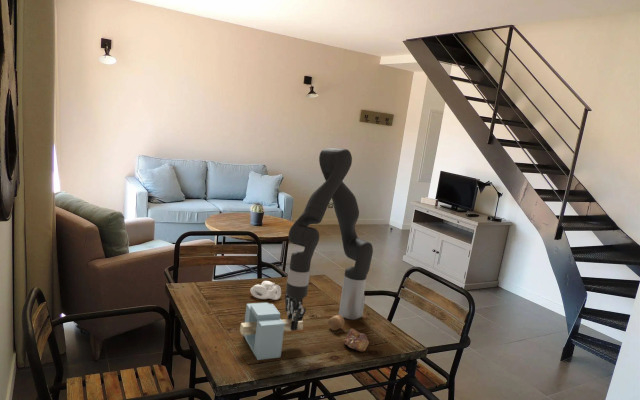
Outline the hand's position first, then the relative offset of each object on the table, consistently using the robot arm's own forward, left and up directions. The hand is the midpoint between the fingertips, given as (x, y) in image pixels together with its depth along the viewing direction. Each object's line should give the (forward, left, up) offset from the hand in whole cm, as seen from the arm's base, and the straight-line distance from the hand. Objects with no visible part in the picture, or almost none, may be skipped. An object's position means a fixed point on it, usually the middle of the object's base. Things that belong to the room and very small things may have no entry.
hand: (291, 327), depth 158 cm
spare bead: (-22, -7, -6) cm, 24 cm away
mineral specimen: (-23, +7, -6) cm, 25 cm away
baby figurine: (-5, -40, -6) cm, 41 cm away
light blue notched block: (+11, 0, -6) cm, 12 cm away
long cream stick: (+7, 0, 0) cm, 8 cm away
